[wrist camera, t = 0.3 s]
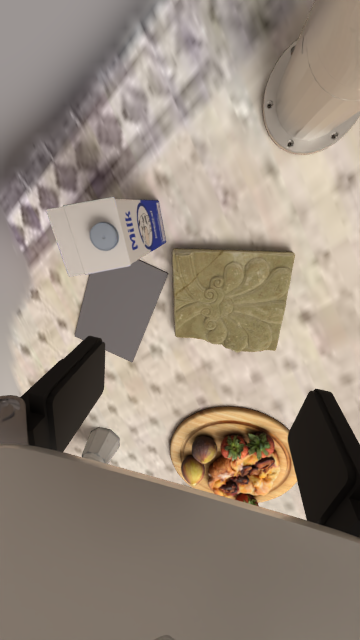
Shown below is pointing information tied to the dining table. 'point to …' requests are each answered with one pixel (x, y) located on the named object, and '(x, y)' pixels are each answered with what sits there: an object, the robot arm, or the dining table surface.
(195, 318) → the decorative tile
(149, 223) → the milk carton
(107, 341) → the mat
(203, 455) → the wooden plate with food
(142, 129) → the dining table surface
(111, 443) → the coffee maker
